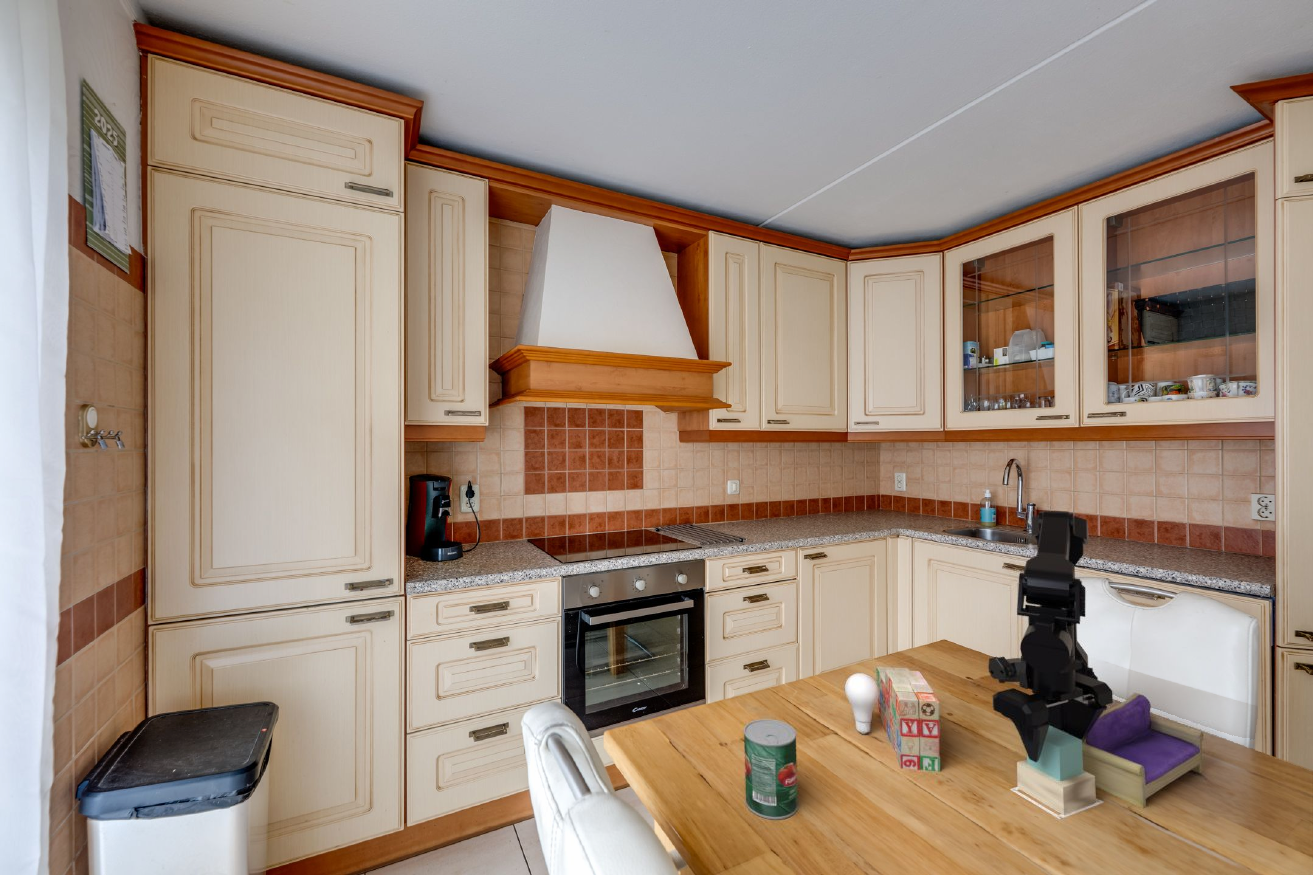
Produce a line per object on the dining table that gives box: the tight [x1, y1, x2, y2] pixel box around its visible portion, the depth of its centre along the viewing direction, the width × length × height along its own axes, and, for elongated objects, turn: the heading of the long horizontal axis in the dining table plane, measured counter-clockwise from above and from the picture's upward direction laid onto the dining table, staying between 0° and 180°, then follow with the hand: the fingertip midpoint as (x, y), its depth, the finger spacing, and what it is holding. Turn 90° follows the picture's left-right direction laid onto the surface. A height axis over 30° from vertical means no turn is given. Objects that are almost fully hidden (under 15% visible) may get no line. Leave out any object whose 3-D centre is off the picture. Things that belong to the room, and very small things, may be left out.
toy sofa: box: [1082, 692, 1204, 809], centre depth 91 cm, size 21×9×10 cm, turn 117°
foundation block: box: [1016, 758, 1097, 815], centre depth 86 cm, size 7×7×4 cm
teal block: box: [1026, 725, 1083, 782], centre depth 87 cm, size 5×5×5 cm
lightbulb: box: [844, 672, 880, 735], centre depth 107 cm, size 6×6×11 cm
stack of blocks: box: [875, 666, 941, 773], centre depth 104 cm, size 21×6×12 cm, turn 169°
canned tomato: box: [743, 718, 799, 821], centre depth 87 cm, size 8×8×11 cm
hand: (1054, 753), depth 86 cm, fingers open, 9 cm apart
